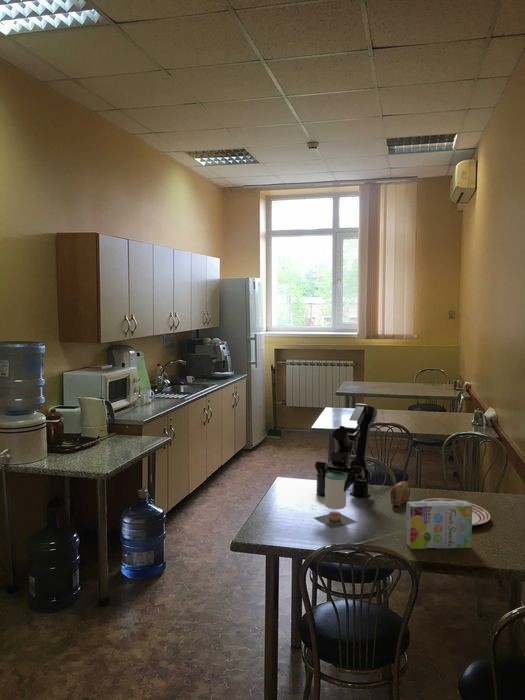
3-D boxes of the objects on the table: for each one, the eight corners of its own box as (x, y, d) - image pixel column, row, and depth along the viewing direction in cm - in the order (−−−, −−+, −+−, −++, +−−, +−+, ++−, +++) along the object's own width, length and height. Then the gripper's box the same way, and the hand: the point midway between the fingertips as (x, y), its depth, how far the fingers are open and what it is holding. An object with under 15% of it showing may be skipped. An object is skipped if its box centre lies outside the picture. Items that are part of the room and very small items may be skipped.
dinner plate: (485, 509, 229) (486, 501, 229) (494, 535, 203) (494, 526, 202) (416, 502, 236) (416, 494, 236) (415, 527, 210) (415, 518, 210)
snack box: (465, 542, 197) (466, 500, 195) (471, 549, 191) (473, 505, 190) (405, 542, 196) (406, 500, 195) (409, 549, 190) (410, 506, 189)
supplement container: (342, 498, 241) (342, 470, 240) (317, 498, 240) (318, 470, 239) (338, 490, 251) (339, 463, 250) (315, 490, 251) (315, 463, 250)
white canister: (329, 500, 219) (329, 470, 218) (348, 504, 216) (348, 473, 215) (322, 507, 213) (322, 476, 212) (341, 510, 209) (342, 479, 208)
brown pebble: (326, 519, 216) (327, 512, 215) (335, 516, 218) (336, 510, 218) (334, 523, 212) (334, 516, 212) (343, 520, 214) (343, 514, 214)
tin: (396, 509, 228) (396, 488, 228) (388, 507, 230) (389, 487, 229) (410, 498, 240) (411, 479, 239) (403, 497, 242) (404, 478, 241)
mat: (312, 519, 217) (313, 517, 217) (337, 513, 223) (337, 512, 223) (332, 529, 207) (332, 528, 207) (357, 523, 213) (357, 522, 213)
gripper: (316, 440, 220) (305, 475, 211) (363, 445, 212) (354, 482, 203) (323, 455, 228) (313, 490, 219) (368, 461, 220) (360, 497, 211)
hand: (334, 489), depth 213 cm, fingers closed on white canister, 7 cm apart
